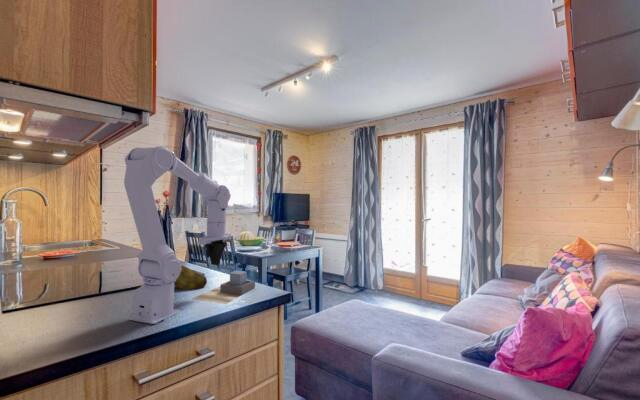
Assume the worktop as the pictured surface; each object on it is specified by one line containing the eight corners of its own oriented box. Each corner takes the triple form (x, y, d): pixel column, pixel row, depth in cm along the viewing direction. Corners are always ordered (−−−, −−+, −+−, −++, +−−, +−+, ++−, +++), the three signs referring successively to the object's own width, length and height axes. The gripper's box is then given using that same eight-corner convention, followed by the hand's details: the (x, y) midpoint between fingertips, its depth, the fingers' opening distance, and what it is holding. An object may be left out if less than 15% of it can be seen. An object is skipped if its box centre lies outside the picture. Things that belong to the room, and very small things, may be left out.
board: (226, 305, 93) (226, 303, 93) (191, 300, 97) (191, 298, 97) (255, 289, 110) (255, 287, 110) (225, 285, 114) (225, 283, 114)
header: (241, 295, 101) (242, 287, 101) (220, 292, 104) (220, 284, 104) (255, 288, 110) (255, 280, 110) (234, 285, 112) (234, 278, 112)
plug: (240, 292, 104) (240, 274, 104) (229, 291, 105) (229, 273, 105) (247, 288, 108) (247, 271, 108) (236, 287, 110) (237, 270, 110)
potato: (196, 294, 103) (197, 269, 103) (160, 291, 105) (161, 266, 105) (209, 287, 111) (209, 264, 111) (175, 284, 113) (176, 262, 113)
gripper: (213, 224, 94) (211, 270, 94) (239, 221, 108) (238, 261, 108) (193, 223, 96) (191, 268, 96) (221, 220, 110) (220, 259, 110)
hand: (215, 264), depth 102 cm, fingers closed
